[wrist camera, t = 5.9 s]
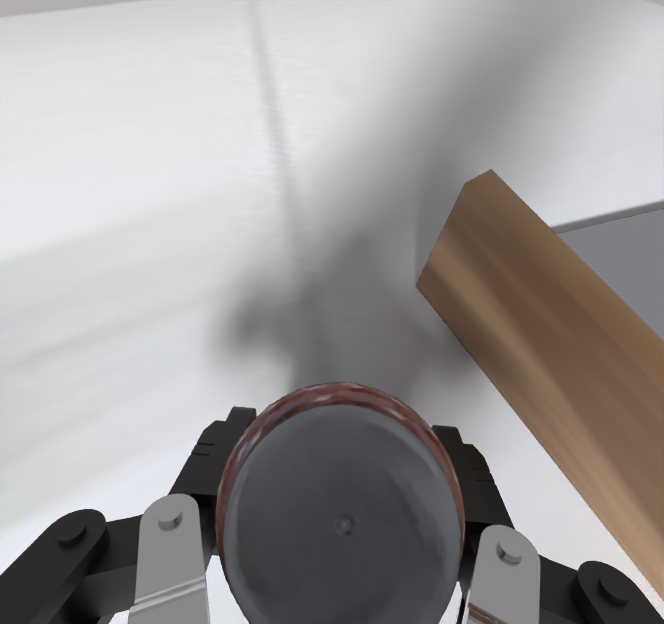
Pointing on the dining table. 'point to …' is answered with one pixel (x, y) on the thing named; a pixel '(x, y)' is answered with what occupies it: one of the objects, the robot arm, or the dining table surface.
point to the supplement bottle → (340, 512)
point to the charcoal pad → (628, 261)
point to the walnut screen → (559, 357)
